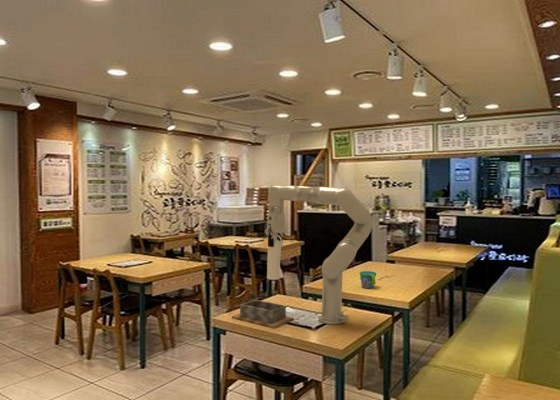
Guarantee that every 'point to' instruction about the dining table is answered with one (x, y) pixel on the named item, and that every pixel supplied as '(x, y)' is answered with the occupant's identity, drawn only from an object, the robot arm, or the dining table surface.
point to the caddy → (263, 314)
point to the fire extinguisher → (274, 259)
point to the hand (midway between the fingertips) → (275, 245)
